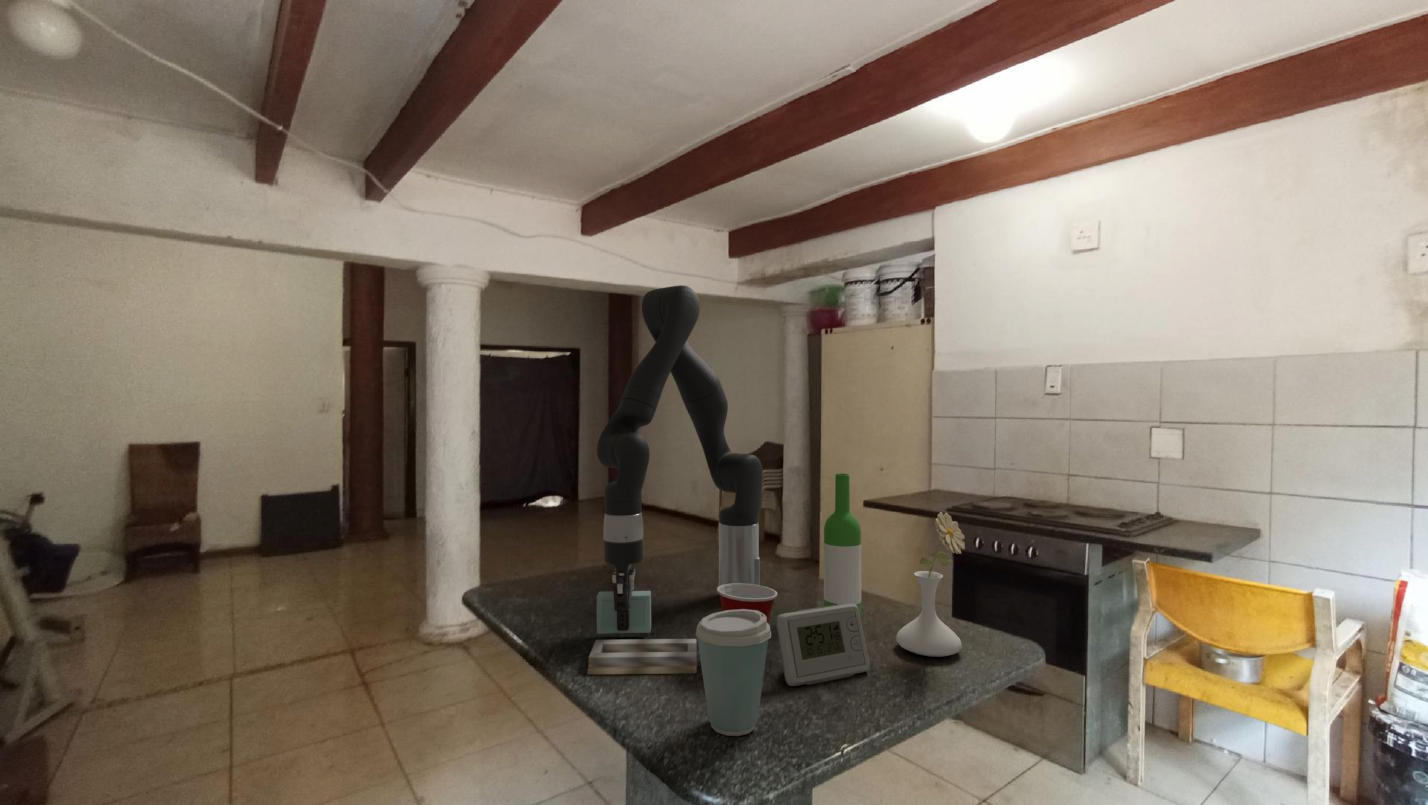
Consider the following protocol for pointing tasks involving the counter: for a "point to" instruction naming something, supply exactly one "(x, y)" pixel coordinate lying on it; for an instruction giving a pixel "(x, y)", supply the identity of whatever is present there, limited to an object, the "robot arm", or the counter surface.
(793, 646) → the digital clock
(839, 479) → the wine bottle
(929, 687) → the counter surface
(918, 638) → the flower in vase
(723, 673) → the disposable coffee cup
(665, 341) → the robot arm
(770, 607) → the plastic cup
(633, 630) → the green rectangular block
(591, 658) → the board
